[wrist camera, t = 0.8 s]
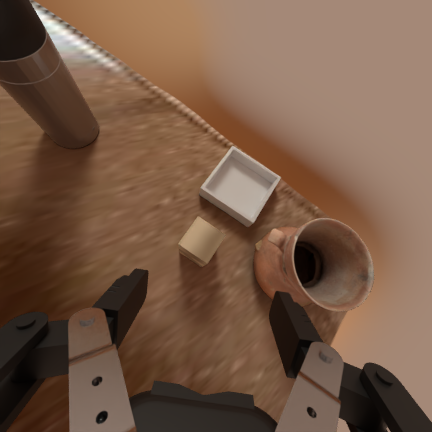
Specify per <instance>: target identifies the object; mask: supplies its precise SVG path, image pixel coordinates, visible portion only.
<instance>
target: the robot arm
mask: <svg viewBox="0 0 432 432" xmlns="http://www.w3.org/2000/svg"><path fill="white" fill-rule="evenodd" d="M0 85H1V86H2V87H3V88H4V89H5V90H6V91H7V92H8V93H9V95H10V96H11V97H12V98H13V99H14V100H15V101H16V102H17V103H18V104H19V105H20V106H21V107H22V108H23V109H24V110H25V111H26V112H27V113H28V114H29V116H30V117H31V118H32V119H33V120H34V121H35V122H36V123H37V124H38V125H39V126H40V127H41V128H42V129H43V130H44V131H45V132H46V134H47V135H48V136H49V137H50V138H51V139H52V140H53V141H54V142H55V143H57V144H58V145H60V146H62V147H65V148H80V147H84V146H86V145H88V144H90V143H91V142H93V141H94V139H95V138H96V137H97V135H98V132H99V126H98V123H97V121H96V119H95V117H94V116H93V114H92V112H91V110H90V108H89V106H88V104H87V103H86V101H85V99H84V97H83V95H82V94H81V92H80V90H79V88H78V86H77V85H76V83H75V81H74V79H73V77H72V76H71V74H70V72H69V70H68V68H67V67H66V65H65V63H64V61H63V59H62V58H61V56H60V54H59V52H58V51H57V49H56V47H55V45H54V43H53V41H52V40H51V38H50V36H49V34H48V32H47V31H46V29H45V27H44V25H43V24H42V22H41V20H40V18H39V17H38V15H37V13H36V11H35V10H34V8H33V6H32V4H31V3H30V1H29V0H0ZM147 284H148V270H142V269H134V270H133V272H132V273H131V274H130V275H129V276H126V275H124V276H122V277H121V278H119V279H117V280H116V281H115V282H114V283H113V284H112V286H110V288H109V289H108V290H107V291H106V292H105V293H104V294H103V295H102V296H101V298H100V299H99V300H98V301H97V302H96V303H95V304H94V305H93V306H92V307H91V308H87V309H84V310H81V311H79V312H77V313H76V314H74V315H73V316H72V317H71V318H70V319H69V320H61V321H51V322H48V316H47V315H46V314H45V313H43V312H31V313H27V314H23V315H21V316H18V317H16V318H14V319H12V320H11V321H9V322H8V323H7V324H6V325H4V326H3V327H2V328H1V329H0V432H6V431H7V429H8V428H9V427H10V425H11V424H12V423H13V421H14V420H15V419H16V417H17V416H18V415H19V413H20V412H21V411H22V409H23V408H24V407H25V406H26V404H27V403H28V402H29V400H30V399H31V398H32V396H33V395H34V394H35V392H36V391H37V390H38V388H39V387H40V386H41V384H42V383H43V382H44V380H45V379H46V378H47V377H53V376H58V375H64V374H69V417H70V432H337V424H338V418H341V419H343V420H345V421H346V423H347V425H348V427H349V430H350V432H388V431H387V430H386V428H387V427H388V428H389V430H390V431H391V432H432V422H431V421H430V420H429V418H428V417H427V416H426V415H425V413H424V412H423V411H422V409H421V408H420V407H419V406H418V404H417V403H416V402H415V401H414V399H413V398H412V397H411V395H410V394H409V393H408V391H407V390H406V389H405V388H404V386H403V385H402V384H401V382H400V381H399V380H398V379H397V378H396V377H395V376H394V375H393V374H392V373H391V372H389V371H388V370H386V369H385V368H383V367H382V366H380V365H377V364H374V363H366V364H365V365H364V367H363V369H359V368H357V367H354V366H352V365H350V364H347V363H345V362H343V360H342V358H341V356H340V355H339V354H338V352H337V351H336V350H334V349H333V348H332V347H330V346H329V345H327V344H325V343H323V341H322V339H321V338H320V336H319V334H318V332H317V331H316V329H315V327H314V325H313V324H312V323H311V320H310V319H309V317H308V315H307V313H306V312H305V310H304V308H302V307H301V306H300V305H299V304H298V303H297V302H294V301H293V299H292V297H291V295H290V293H288V292H281V291H276V292H275V294H274V298H273V301H272V305H271V309H270V313H269V320H270V325H271V328H272V331H273V334H274V337H275V341H276V344H277V347H278V350H279V354H280V357H281V360H282V363H283V366H284V370H285V373H286V376H287V377H288V378H295V379H296V381H295V383H294V386H293V388H292V391H291V393H290V396H289V398H288V401H287V403H286V405H285V408H284V410H283V413H282V415H281V418H280V420H279V423H278V424H277V422H276V421H275V420H274V419H273V418H272V417H271V416H270V415H268V414H267V413H266V412H264V411H263V410H262V409H260V408H258V407H256V406H254V400H253V395H249V394H242V393H236V392H222V393H216V394H210V395H201V394H199V393H197V392H195V391H192V390H190V389H188V388H186V387H184V386H182V385H179V384H174V383H167V382H161V381H154V384H153V387H152V390H150V391H145V392H141V393H139V394H136V395H134V396H132V397H131V398H128V394H127V390H126V386H125V382H124V378H123V373H122V369H121V365H120V361H119V357H118V353H117V350H118V348H119V346H120V344H121V342H122V341H123V339H124V337H125V335H126V334H127V332H128V330H129V328H130V326H131V325H132V323H133V321H134V319H135V317H136V316H137V314H138V312H139V310H140V308H141V307H142V305H143V303H144V301H145V298H146V294H147Z"/></svg>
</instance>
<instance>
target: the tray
mask: <svg viewBox="0 0 432 432" xmlns="http://www.w3.org/2000/svg"><path fill="white" fill-rule="evenodd" d="M280 178H281V177H280V176H278V175H277V174H275V173H274V172H272V171H271V170H269V169H267V168H266V167H264V166H263V165H261V164H260V163H258V162H257V161H255V160H254V159H252V158H251V157H249V156H248V155H246V154H245V153H243V152H242V151H240V150H239V149H237V148H235V147H234V146H232V147H231V149H230V150H229V151H228V153H227V154H226V155H225V156H224V158H223V159H222V160H221V162H220V163H219V164H218V166H217V167H216V168H215V169H214V171H213V172H212V173H211V175H210V176H209V177H208V179H207V180H206V181H205V182H204V184H203V185H202V186H201V188H200V193H199V195H200V196H202V197H203V198H205V199H206V200H208V201H209V202H211V203H212V204H214V205H215V206H217V207H218V208H220V209H221V210H223V211H224V212H226V213H227V214H229V215H230V216H232V217H233V218H234V219H236V220H237V221H239V222H240V223H242V224H243V225H245V226H246V227H249V226H250V225H252V224H253V223H254V221H255V220H256V218H257V216H258V215H259V213H260V211H261V210H262V208H263V206H264V205H265V203H266V201H267V200H268V198H269V196H270V195H271V193H272V191H273V190H274V188H275V186H276V185H277V183H278V181H279V180H280Z"/></svg>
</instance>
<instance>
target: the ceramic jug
mask: <svg viewBox="0 0 432 432" xmlns="http://www.w3.org/2000/svg"><path fill="white" fill-rule="evenodd" d="M253 261H254V262H253V265H254V272H255V276H256V279H257V281H258V283H259V285H260V287H261V288H262V290H263V291H264V292H265V293H266V294H267V295H268V296H269V297H270V298H271V299H272V300H273V298H274V294H275V292H276V291H281V292H288V293H290V295H291V297H292V299H293V301H294V302H297V303H298V304H299V305H300V306H301V307H302V306H306V305H308V304H311V303H314V304H316V305H318V306H320V307H322V308H324V309H327V310H331V311H338V312H342V311H348V310H352V309H354V308H356V307H358V306H359V305H361V304H362V303H363V302H364V301H365V300H366V299H367V296H368V294H369V293H370V292H371V289H372V286H373V282H374V270H373V261H372V258H371V255H370V253H369V250H368V248H367V246H366V245H365V244H364V242H363V241H362V240H361V239H360V237H359V235H358V234H357V233H356V232H355V231H354V230H352V229H351V228H350V227H349V226H348V225H346V224H344V223H342V222H340V221H338V220H334V219H329V218H320V219H315V220H312V221H310V222H308V223H306V224H304V225H303V226H301V227H300V228H299V229H298V228H294V227H280V228H276V229H272V231H270V232H269V233H267V234H266V235H265V236H264V237H263V238H262V239H261V240H260V241H259V242H258V243H256V244H255V253H254V260H253Z"/></svg>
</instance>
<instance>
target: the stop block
mask: <svg viewBox="0 0 432 432" xmlns="http://www.w3.org/2000/svg"><path fill="white" fill-rule="evenodd" d="M225 236H226V235H225V234H224V233H222V232H221V231H219V230H218V229H216V228H215V227H213V226H212V225H210V224H209V223H207V222H206V221H204V220H203V219H201V218H200V217H197V219H196V220H195V221H194V223H193V224H192V226H191V227H190V228H189V230H188V231H187V232H186V234H185V235H184V237H183V238H182V239H181V241H180V242H179V243H178V246H179V252H180V253H181V254H183V255H184V256H186V257H187V258H189V259H190V260H191V261H193V262H194V263H196V264H197V265H199V266H200V267H202V266H204V265H206V264H208V262H209V261H210V259H211V258H212V256H213V254H214V253H215V251H216V250H217V248H218V247H219V245H220V244H221V242H222V240H223V239H224V237H225Z"/></svg>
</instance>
